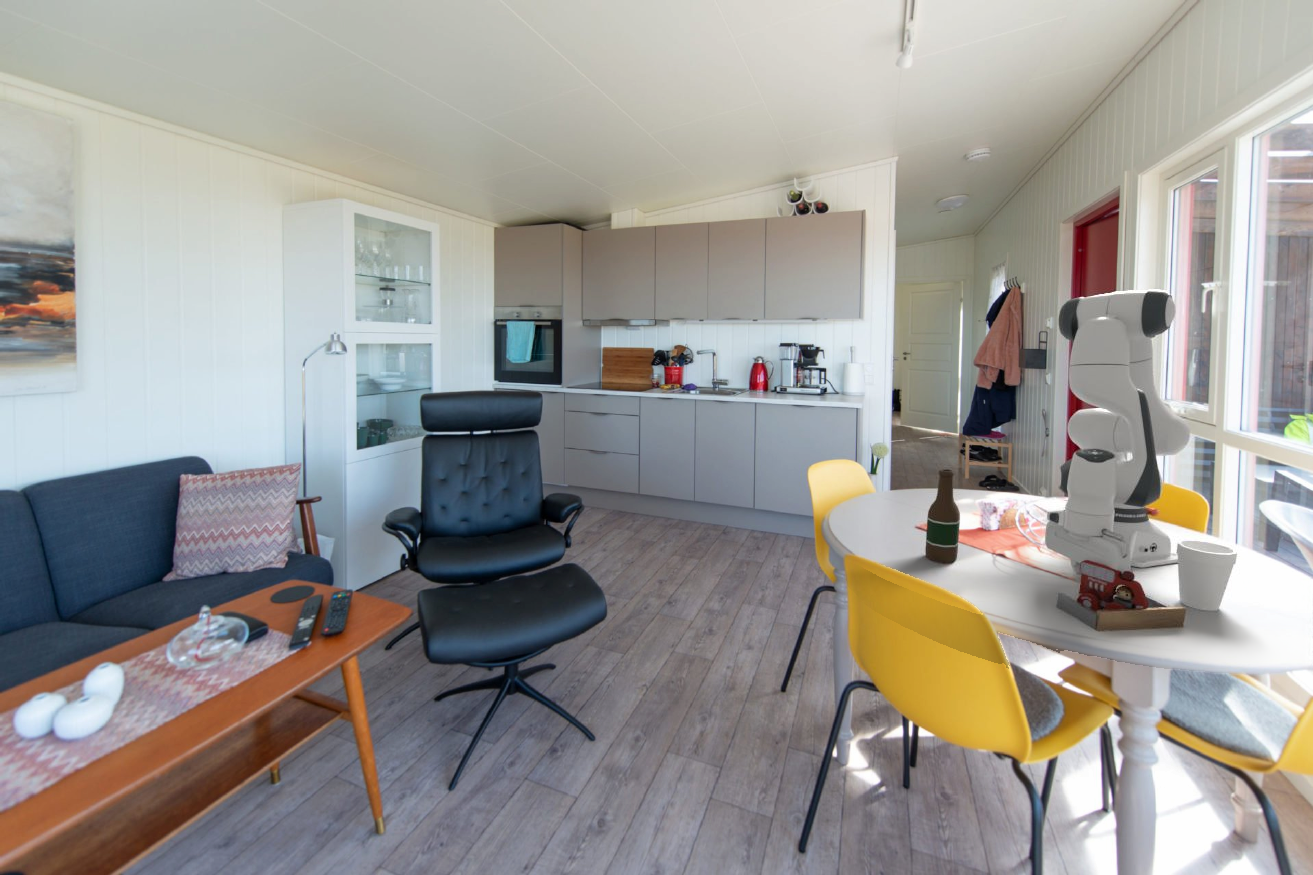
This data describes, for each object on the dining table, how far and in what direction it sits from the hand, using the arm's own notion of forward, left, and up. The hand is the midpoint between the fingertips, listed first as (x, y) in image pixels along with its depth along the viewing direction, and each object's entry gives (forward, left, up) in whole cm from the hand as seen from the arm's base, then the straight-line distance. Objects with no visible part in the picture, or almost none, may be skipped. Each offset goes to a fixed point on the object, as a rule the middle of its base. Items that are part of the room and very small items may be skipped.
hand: (1082, 581), depth 133 cm
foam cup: (-21, +7, -3) cm, 23 cm away
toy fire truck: (+2, +10, -3) cm, 10 cm away
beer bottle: (+19, -25, -3) cm, 31 cm away
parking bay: (+1, +10, -3) cm, 11 cm away
